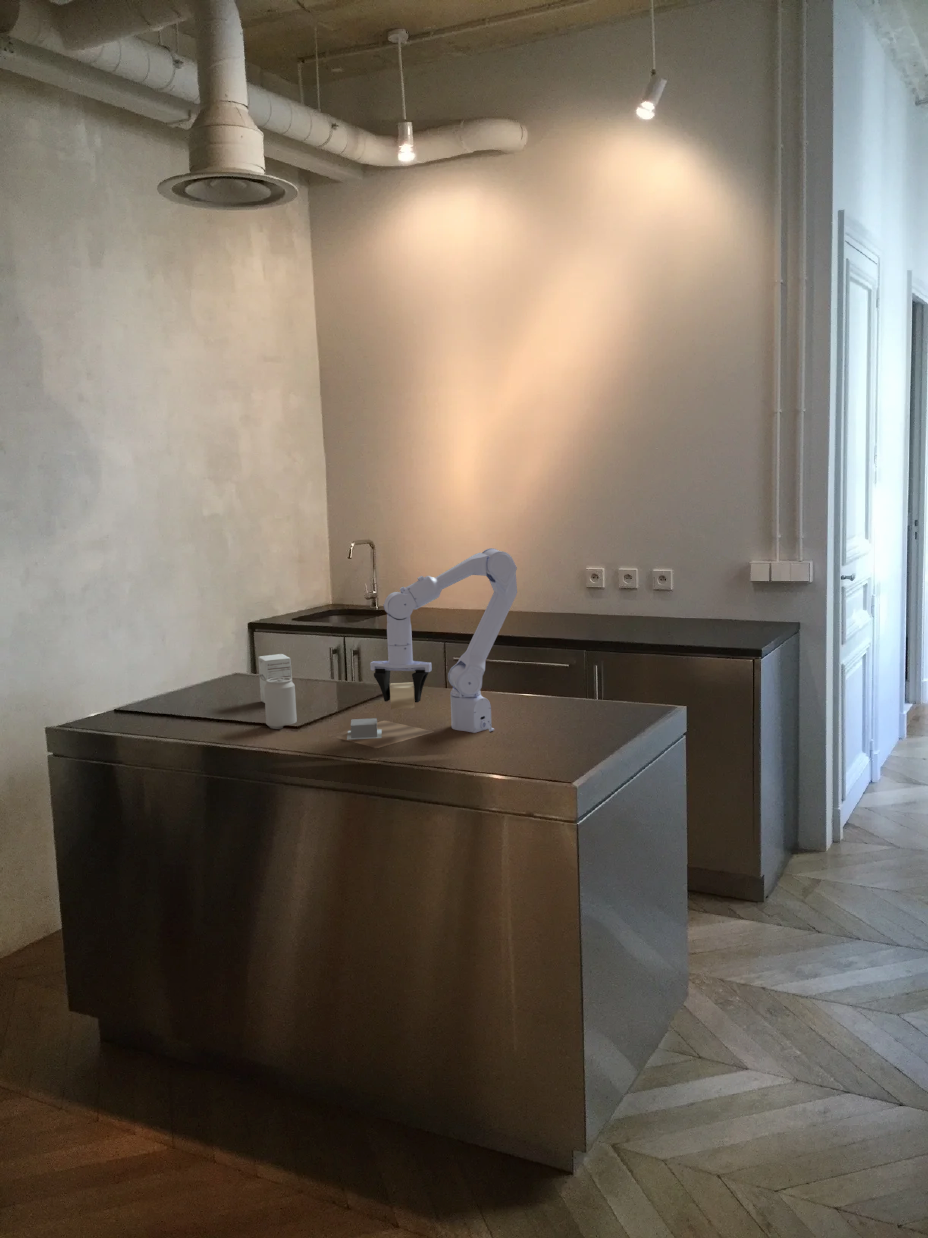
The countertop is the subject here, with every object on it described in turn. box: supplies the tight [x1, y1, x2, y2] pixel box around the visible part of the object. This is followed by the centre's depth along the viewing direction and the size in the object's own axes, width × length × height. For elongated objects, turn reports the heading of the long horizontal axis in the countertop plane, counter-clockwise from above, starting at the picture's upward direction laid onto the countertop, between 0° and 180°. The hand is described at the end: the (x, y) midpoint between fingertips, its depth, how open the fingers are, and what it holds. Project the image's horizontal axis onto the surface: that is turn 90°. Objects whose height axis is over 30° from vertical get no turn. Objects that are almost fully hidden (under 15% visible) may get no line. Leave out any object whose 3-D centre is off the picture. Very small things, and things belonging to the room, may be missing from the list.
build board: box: [327, 720, 435, 749], centre depth 259 cm, size 18×18×1 cm
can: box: [264, 677, 298, 730], centre depth 272 cm, size 8×8×12 cm
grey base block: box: [350, 717, 378, 738], centre depth 258 cm, size 6×6×3 cm
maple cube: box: [390, 681, 416, 710], centre depth 258 cm, size 6×6×5 cm
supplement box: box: [257, 653, 293, 704], centre depth 299 cm, size 7×7×13 cm
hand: (402, 701), depth 258 cm, fingers closed on maple cube, 7 cm apart
